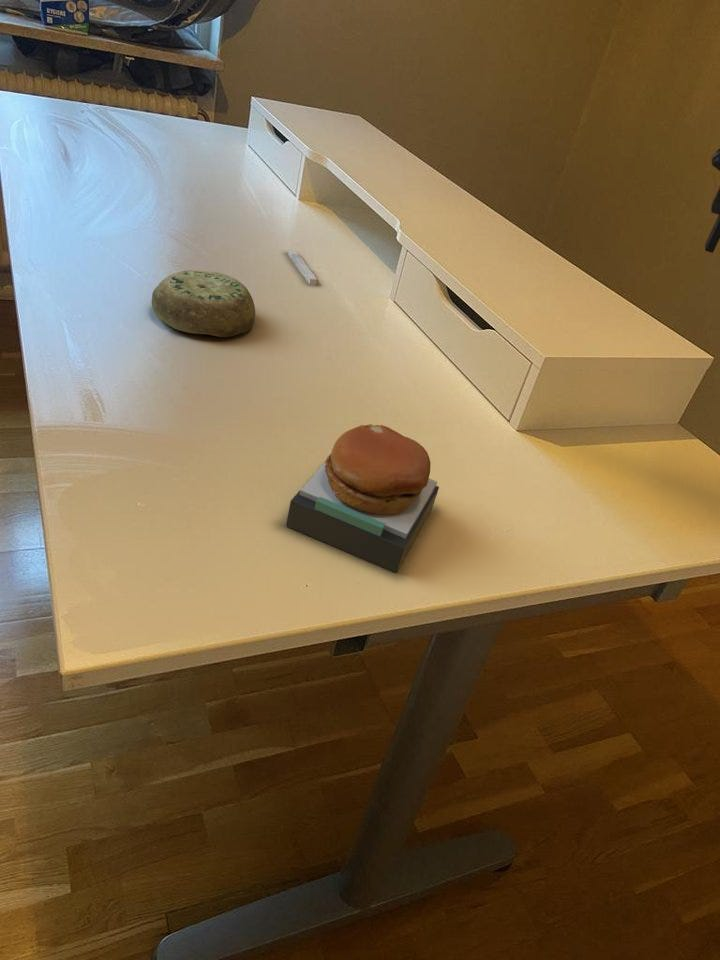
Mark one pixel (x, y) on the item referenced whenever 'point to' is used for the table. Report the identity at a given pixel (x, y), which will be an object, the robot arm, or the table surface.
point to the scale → (359, 522)
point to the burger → (377, 469)
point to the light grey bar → (302, 267)
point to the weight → (204, 303)
